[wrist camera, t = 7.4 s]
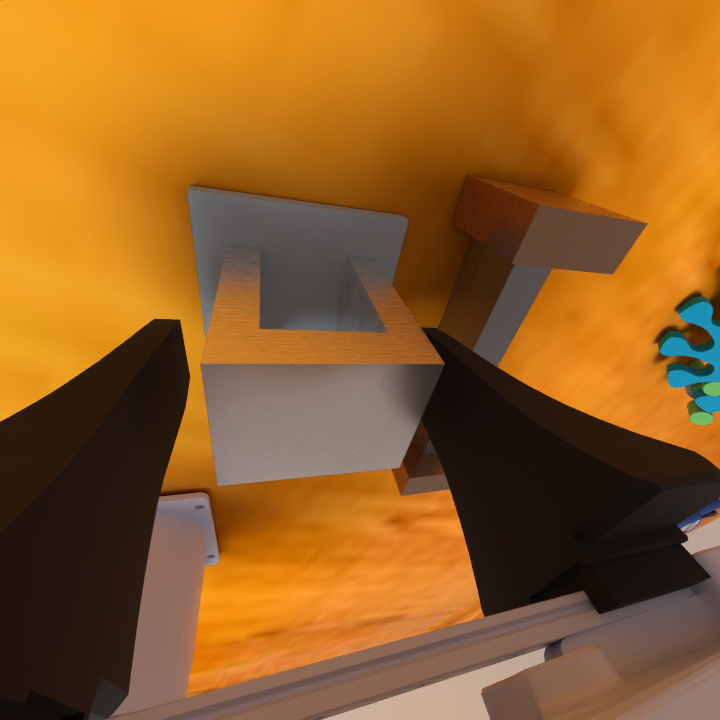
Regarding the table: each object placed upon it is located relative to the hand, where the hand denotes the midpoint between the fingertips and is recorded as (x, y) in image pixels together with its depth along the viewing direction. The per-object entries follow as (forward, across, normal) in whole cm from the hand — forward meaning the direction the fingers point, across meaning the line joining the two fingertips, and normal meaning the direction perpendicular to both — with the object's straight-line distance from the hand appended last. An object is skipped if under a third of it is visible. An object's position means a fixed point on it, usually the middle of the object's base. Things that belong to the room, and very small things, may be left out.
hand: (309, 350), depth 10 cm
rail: (+4, -8, +2) cm, 9 cm away
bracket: (+3, 0, 0) cm, 3 cm away
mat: (+4, 0, 0) cm, 4 cm away
